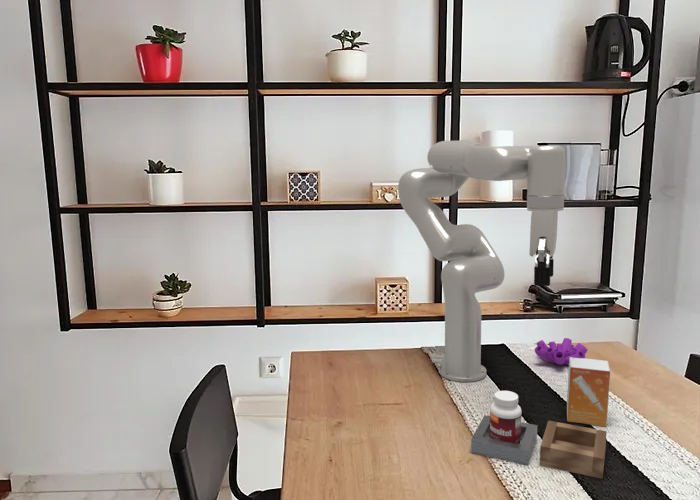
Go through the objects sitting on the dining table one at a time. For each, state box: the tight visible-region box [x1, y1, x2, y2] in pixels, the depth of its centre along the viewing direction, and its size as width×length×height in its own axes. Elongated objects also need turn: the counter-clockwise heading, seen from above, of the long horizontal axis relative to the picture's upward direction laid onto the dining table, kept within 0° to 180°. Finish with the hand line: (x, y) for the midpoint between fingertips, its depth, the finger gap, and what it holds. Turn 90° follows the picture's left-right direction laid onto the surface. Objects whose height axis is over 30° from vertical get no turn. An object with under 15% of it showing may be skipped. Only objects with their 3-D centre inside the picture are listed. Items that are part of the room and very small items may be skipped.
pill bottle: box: [489, 390, 523, 444], centre depth 113 cm, size 6×6×11 cm
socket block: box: [470, 414, 538, 466], centre depth 114 cm, size 11×11×3 cm
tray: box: [539, 420, 608, 480], centre depth 109 cm, size 11×11×4 cm
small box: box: [566, 357, 611, 428], centre depth 123 cm, size 8×6×13 cm
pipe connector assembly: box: [534, 337, 589, 366], centre depth 155 cm, size 11×15×10 cm
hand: (543, 280), depth 123 cm, fingers open, 9 cm apart
